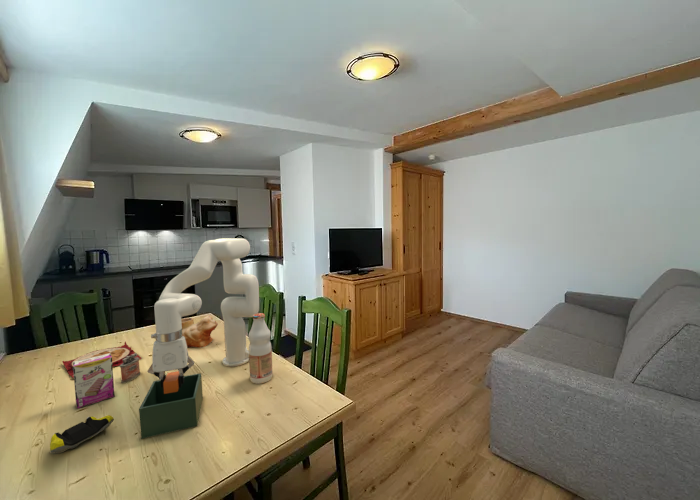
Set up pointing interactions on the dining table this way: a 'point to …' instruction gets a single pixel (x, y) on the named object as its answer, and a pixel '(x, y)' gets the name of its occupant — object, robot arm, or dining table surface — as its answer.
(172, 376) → the orange rectangular block
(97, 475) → the dining table surface
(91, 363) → the candy bar box
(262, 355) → the fruit juice
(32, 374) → the dining table surface
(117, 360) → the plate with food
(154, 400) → the trash bin
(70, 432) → the black and yellow piece
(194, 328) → the ceramic vessel
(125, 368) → the red metal can
